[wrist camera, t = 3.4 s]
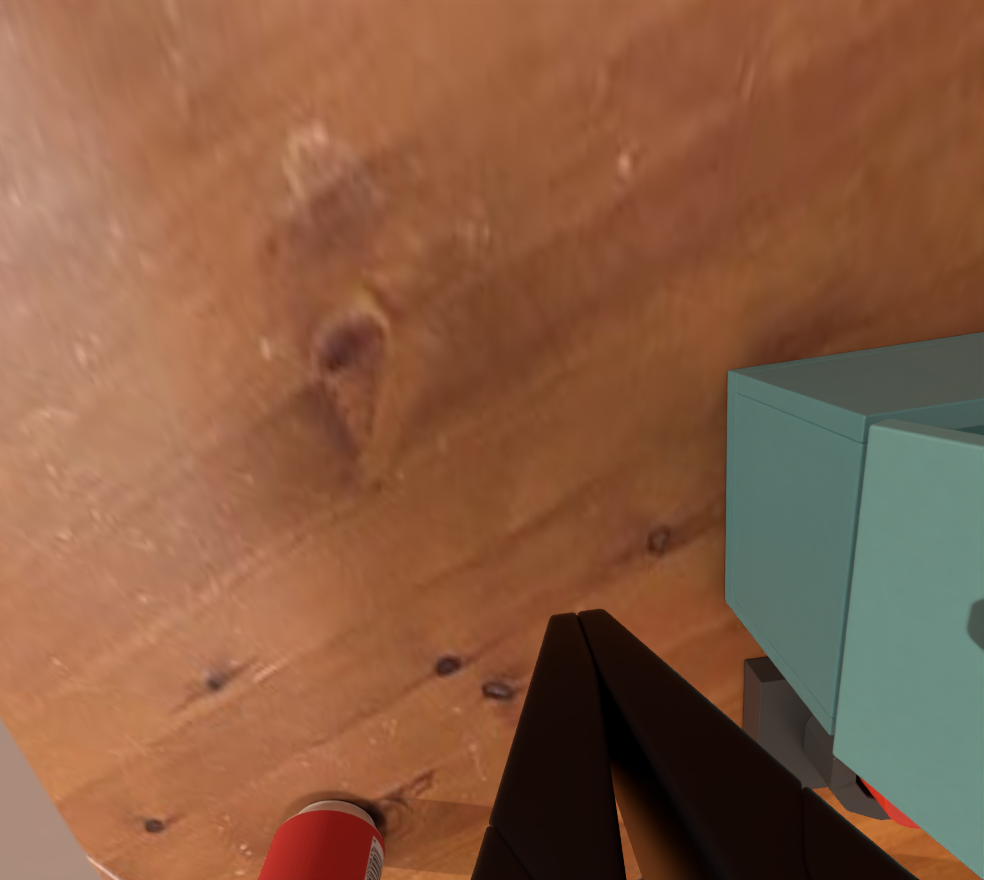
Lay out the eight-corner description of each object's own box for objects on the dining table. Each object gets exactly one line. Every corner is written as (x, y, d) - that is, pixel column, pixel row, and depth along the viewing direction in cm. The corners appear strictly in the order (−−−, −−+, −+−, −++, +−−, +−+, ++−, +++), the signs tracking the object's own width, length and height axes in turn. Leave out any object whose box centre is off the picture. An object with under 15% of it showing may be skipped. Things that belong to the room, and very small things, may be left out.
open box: (1059, 319, 19) (1393, 338, 12) (1002, 561, 23) (1234, 683, 16) (726, 370, 19) (864, 416, 12) (724, 600, 23) (829, 736, 16)
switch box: (977, 628, 24) (1058, 683, 20) (952, 742, 26) (1020, 808, 23) (744, 659, 24) (786, 719, 21) (741, 769, 27) (778, 838, 23)
